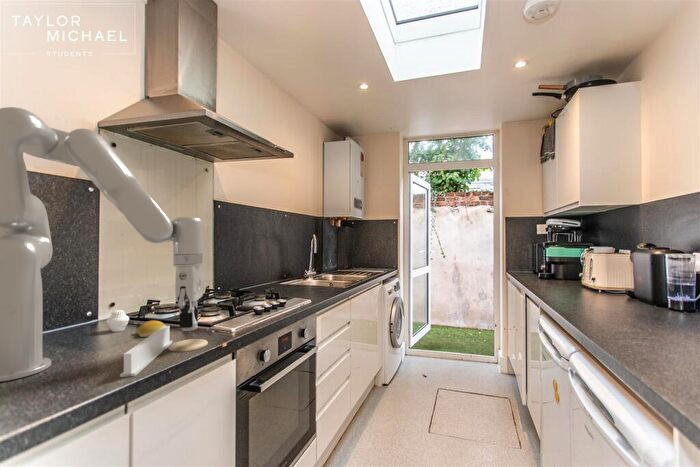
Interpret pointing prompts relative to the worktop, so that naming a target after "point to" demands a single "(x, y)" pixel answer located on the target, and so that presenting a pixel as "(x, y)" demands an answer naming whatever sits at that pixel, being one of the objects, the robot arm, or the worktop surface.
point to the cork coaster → (188, 345)
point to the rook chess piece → (193, 320)
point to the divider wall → (146, 352)
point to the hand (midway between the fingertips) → (189, 324)
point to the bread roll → (149, 328)
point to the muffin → (118, 321)
